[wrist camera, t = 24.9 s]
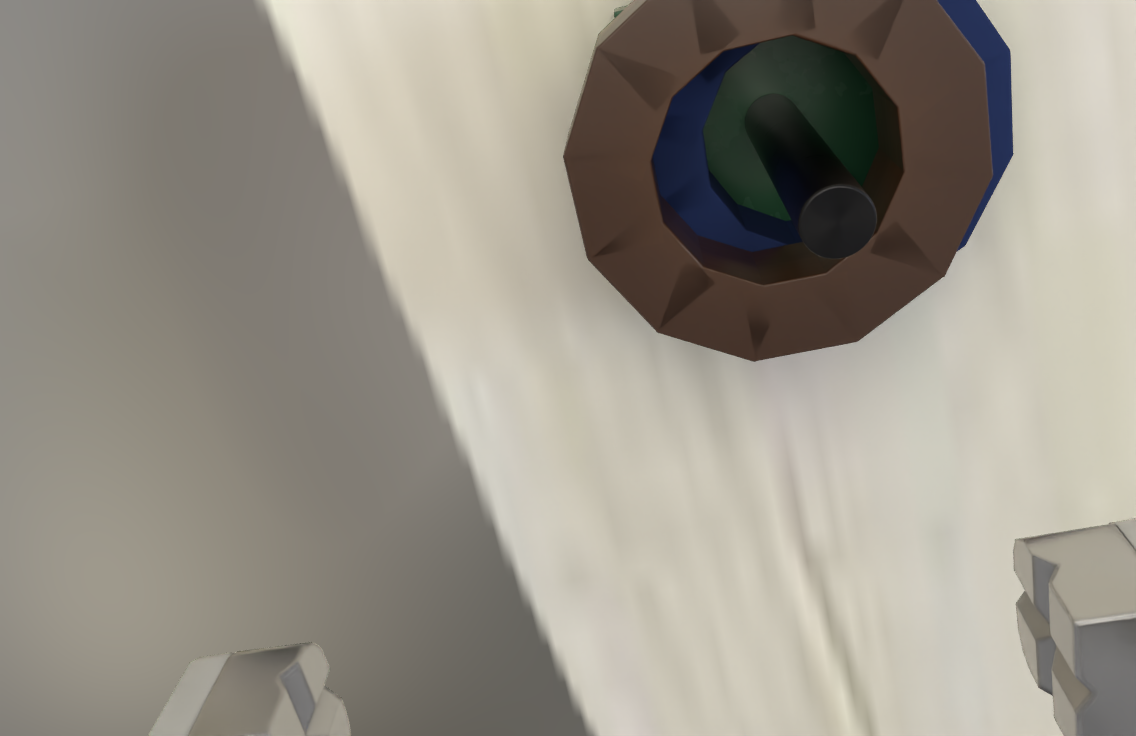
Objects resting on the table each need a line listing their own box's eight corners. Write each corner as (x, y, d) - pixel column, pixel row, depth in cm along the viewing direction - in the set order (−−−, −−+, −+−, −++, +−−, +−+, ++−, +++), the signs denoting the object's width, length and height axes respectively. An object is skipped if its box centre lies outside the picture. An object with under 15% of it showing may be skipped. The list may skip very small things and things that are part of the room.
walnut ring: (971, 279, 34) (1004, 315, 31) (617, 347, 35) (617, 388, 33) (938, -107, 29) (973, -107, 26) (535, -9, 31) (526, 2, 28)
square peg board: (911, 213, 38) (1046, 363, 26) (661, 260, 39) (678, 425, 27) (887, -53, 34) (1031, -23, 22) (614, 8, 35) (608, 68, 23)
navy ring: (985, 252, 37) (1017, 283, 34) (657, 306, 38) (659, 340, 35) (972, -105, 32) (1007, -105, 29) (599, -28, 34) (597, -21, 31)
